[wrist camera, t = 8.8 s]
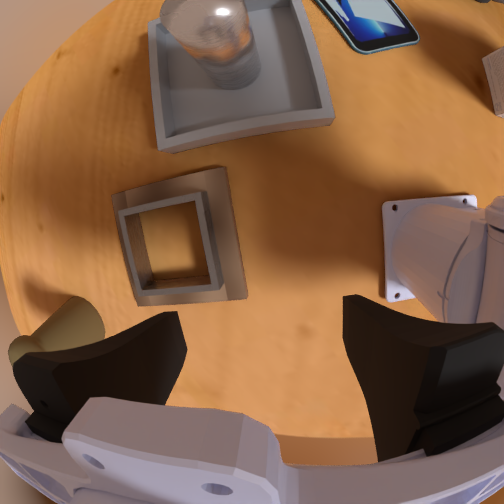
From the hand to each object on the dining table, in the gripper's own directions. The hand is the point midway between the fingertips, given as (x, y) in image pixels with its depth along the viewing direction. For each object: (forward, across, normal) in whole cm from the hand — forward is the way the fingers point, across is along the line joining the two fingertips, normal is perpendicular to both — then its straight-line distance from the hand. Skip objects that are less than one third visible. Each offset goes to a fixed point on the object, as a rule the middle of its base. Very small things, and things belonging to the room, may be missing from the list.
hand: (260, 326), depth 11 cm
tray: (+10, 0, -16) cm, 18 cm away
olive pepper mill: (+11, +21, +5) cm, 24 cm away
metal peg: (+9, 0, -15) cm, 18 cm away
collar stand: (+10, +7, -2) cm, 13 cm away
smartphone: (+10, -10, -24) cm, 28 cm away
